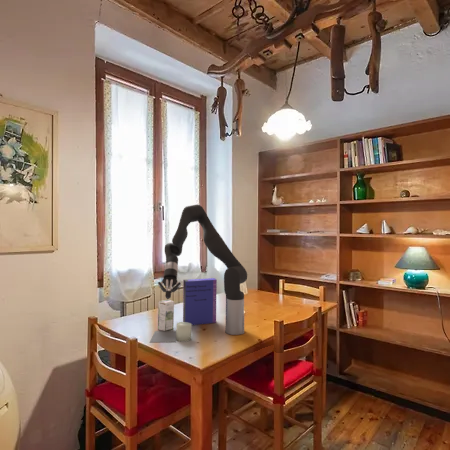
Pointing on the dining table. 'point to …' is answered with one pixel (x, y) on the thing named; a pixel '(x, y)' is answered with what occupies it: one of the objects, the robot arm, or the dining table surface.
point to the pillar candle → (183, 331)
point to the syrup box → (165, 315)
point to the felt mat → (164, 336)
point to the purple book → (199, 301)
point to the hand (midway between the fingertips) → (168, 298)
